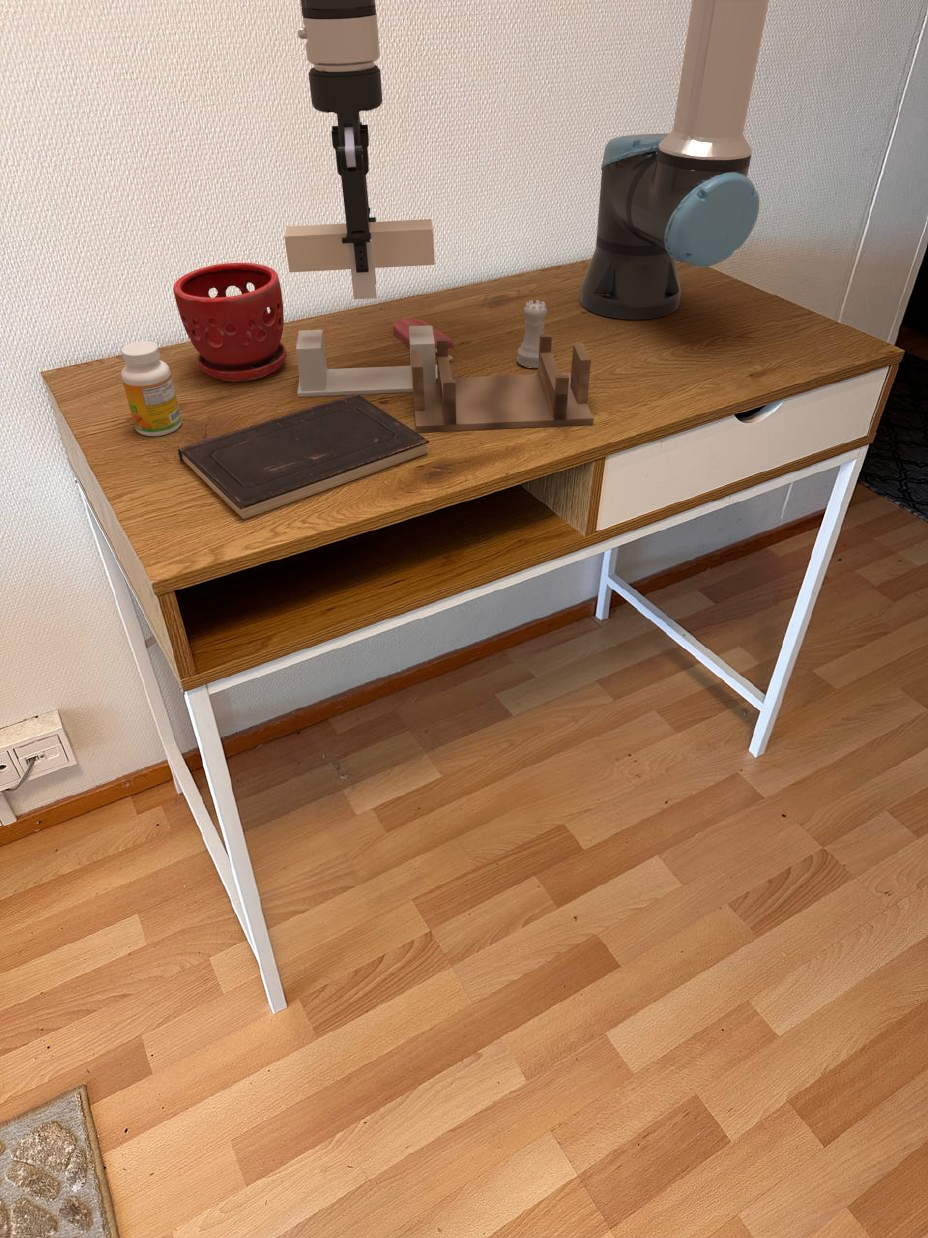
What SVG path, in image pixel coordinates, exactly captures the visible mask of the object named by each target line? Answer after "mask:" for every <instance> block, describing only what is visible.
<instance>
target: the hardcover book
mask: <svg viewBox="0 0 928 1238" xmlns="http://www.w3.org/2000/svg"><path fill="white" fill-rule="evenodd" d="M429 443H430V440H429V439H427V438H426V437H424V436H423V435H421V434H420V433H419V432H416V430H414V429H412V428H410V427H409V426H407V424H405V423H403V422H402V421H401V420H398V419H397V418H395V417H394V416H392V415H390V414H389V413H388V412H386V411H385V410H383V409H382V408H380V407H378V406H377V405H375V404H374V403H372V402H371V401H369V400H368V399H366V398H365V397H363V396H362V395H361V394H357V393H356V394H352V395H345V396H343V397H341V398H337V399H334V400H333V399H332V400H330V401H328V402H327V401H326V402H323V403H320V404H316V405H315V406H310V407H307V408H304V409H301V410H297V411H295V412H291V413H288V414H285V415H282V416H281V415H280V416H278V417H275V418H271V419H269V420H265V421H262V422H258V423H256V424H252V425H250V426H246V427H242V428H239V429H236V430H233V431H229V432H226V433H224V434H220V435H216V436H213V437H210V438H207V439H204V440H200V441H197V442H195V443H191V444H187V445H184V446H180V447H178V449H177V453H178V456H179V461H184V463H186V465H188V467H190V468H191V470H193V471H194V472H195V473H196V474H197V475H198V477H200V478H201V479H202V480H203V481H204V483H206V485H208V486H209V487H210V488H211V489H212V490H213V491H214V492H215V493H216V494H217V495H218V496H219V497H220V498H221V499H222V500H223V501H224V502H225V503H226V504H227V505H228V506H229V507H230V508H231V509H232V510H233V511H234V512H235V513H236V514H237V515H238V516H240V517H241V519H243V520H246V519H250V518H251V517H255V516H258V515H259V514H260V515H261V514H262V513H266V512H268V511H271V510H274V509H276V508H279V507H282V506H285V505H287V504H291V503H292V502H296V501H299V500H301V499H304V498H307V497H311V496H312V495H316V494H318V493H321V492H323V491H326V490H329V489H332V488H335V487H337V486H340V485H342V484H346V483H349V482H351V481H354V480H357V479H359V478H362V477H364V476H365V477H366V476H368V475H371V474H373V473H376V472H379V471H381V470H386V469H387V468H390V467H393V466H396V465H398V464H401V463H404V462H407V461H409V460H413V459H415V458H417V457H421V456H423V455H426V454H427V449H428V448H427V446H426V445H427V444H429Z"/></svg>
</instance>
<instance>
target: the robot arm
mask: <svg viewBox="0 0 928 1238" xmlns="http://www.w3.org/2000/svg"><path fill="white" fill-rule="evenodd" d="M299 1H300V8H301V16H302V24H303V26H304V27H299V28H298V30H297V37H298V38H299V39H300V40H307V41H306V43H305V51H306V52H305V53H306V60H307V61H308V62H309V63H310V64H312V65H313V66H314V67H311V68H310V69H309V72H307V73H308V82H309V90H310V97H311V100H310V101H311V105H312V107H313V108H314V110H317V111H319V112H321V113H326V114H327V113H334V114H335V115H336V117H337V119H336V120H337V125H332V126H331V133H330V134H331V143H332V144H331V145H332V147H333V149H334V151H335V160H336V170H337V174H338V176H340V178H341V186H342V197H343V206H344V215H345V223H346V227H347V234H346V237H342V244H346V243H348V248H349V257H350V267H351V269H350V276H351V284H352V293H353V294H352V295H353V296H352V297H353V300H365V299H366V300H367V299H368V300H370V299H377V286H376V285H377V277H376V276H377V274H376V268H374V261H373V250H372V239H371V233H370V232H369V222H377V217H376V216H375V217H374V216H372V217H371V216H370V214H371V207H370V205H369V203H370V202H369V194H368V193H369V192H368V182H367V180H368V179H367V175H368V174H369V171H370V167H369V166H370V165H369V164H370V163H369V160H370V159H369V149H368V148H369V145H370V137H369V136H370V135H369V134H370V133H369V124H363V122H362V121H361V115H360V112H368V111H373V110H375V109H378V108H380V107H381V105H382V104H383V92H382V91H383V89H382V75H381V69H380V68H379V66H378V65H377V64H375V62H376V61H378V60H379V59H380V56H381V54H380V45H379V43H380V41H379V29H378V28H379V27H378V14H377V9H376V8H377V7H376V6H377V5H376V0H299ZM769 2H770V0H691V8H690V13H689V19H688V26H687V33H686V40H685V47H684V54H683V60H682V67H681V74H680V81H679V85H678V86H679V88H678V94H677V100H676V107H675V108H676V109H675V113H674V122H673V127H672V130H671V131H670V133H669V132H668V133H645V134H644V133H643V134H630V135H622V136H616V137H613V138H611V139H610V140H609V141H608V142H607V143H606V145H605V148H604V152H603V156H602V157H603V158H602V162H601V166H600V171H601V179H600V189H599V190H600V191H599V200H598V201H599V205H598V216H597V229H596V241H595V242H596V243H595V249H594V251H593V255H592V257H591V260H590V261H589V264H588V267H587V269H586V272H585V275H584V277H583V279H582V282H581V285H580V294H579V302H580V304H581V306H582V307H583V308H585V309H586V310H588V311H589V312H592V313H594V314H596V315H600V316H603V317H607V318H613V319H619V320H633V321H634V320H635V321H637V320H651V319H656V318H657V319H658V318H662V317H666V316H668V315H670V314H673V313H675V312H676V311H677V310H678V308H679V306H680V302H681V301H680V299H681V293H682V291H681V289H682V288H681V284H680V277H679V272H678V266H677V262H680V263H685V264H688V265H690V266H693V267H699V268H700V267H701V268H705V267H712V266H715V265H717V264H720V263H722V262H724V261H725V260H727V259H729V258H730V257H731V256H732V255H733V254H734V252H735V251H736V250H737V249H740V248H741V247H742V246H743V245H744V244H745V243H746V241H747V239H748V238H749V237H750V235H751V233H752V231H753V230H754V228H755V225H756V223H757V219H758V216H759V211H760V196H759V193H758V191H757V189H756V188H755V184H754V183H753V181H752V180H751V179H750V178H749V177H748V174H749V170H750V169H749V168H750V164H751V158H752V153H753V148H752V147H751V146H750V144H749V142H748V141H747V139H746V138H745V135H744V131H745V125H746V121H747V116H748V112H749V111H748V109H749V105H750V100H751V99H750V98H751V95H752V90H753V84H754V79H755V75H756V69H757V63H758V58H759V54H760V48H761V44H762V43H761V42H762V38H763V34H764V33H763V32H764V27H765V22H766V17H767V12H768V7H769Z"/></svg>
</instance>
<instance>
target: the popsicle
mask: <svg viewBox="0 0 928 1238" xmlns="http://www.w3.org/2000/svg"><path fill="white" fill-rule="evenodd" d="M431 325H432V324H429V323H428V322H426V321H424V320H422V319H419V318H412V317H411V318H409V317H408V318H401V319H399V320H396V321H395V322H394V323H393V324H392V330H393V335H394V336H395V337H396V338H397V339H398V340H400V342H402V343H403V344H404V345H405V346H407V347H408V348H409V349H410V342H409V326H431ZM432 328H433V335H434V342H435V355H437V339H446V338H448V350H451V349H453V345H454V343H453V339H451V338H449V337H448V335H445V334H444V333H442V332H441V331H440V330H439V329H437V328H435V327H434V326H432ZM448 357H449V362H453V360H454V357H453V356H452V355H450V354H449V353H448Z"/></svg>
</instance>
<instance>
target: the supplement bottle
mask: <svg viewBox="0 0 928 1238" xmlns="http://www.w3.org/2000/svg"><path fill="white" fill-rule="evenodd" d="M121 355H122V359H123V363H124V364H125V365H124V367H123V368H122V369H121V374H120V375H121V380H122V383H123V388H124V390H125V395H126V399H127V403H128V406H129V410H130V413H131V418H132V421H133V425H134V428H135V431H136V432H137V433H139V435H140V434H141V435H143V436H147V437H161V436H164V435H165V436H166V435H168V434H171V433H173V432H175V431H176V430H178V429H179V428H180V427H181V425H182V416H181V411H180V407H179V403H178V398H177V394H176V389H175V385H174V382H173V377H172V373H171V370H170V367H169V365H168V364H167V363H166V362H164V361H163V360H162V359H161V352H160V349H159V346H158V344H157V343H155V342H153V341H145V340H143V341H142V340H141V341H135V342H132V343H129V344H127V345H125V346H124V345H123V347H122V348H121Z"/></svg>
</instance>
